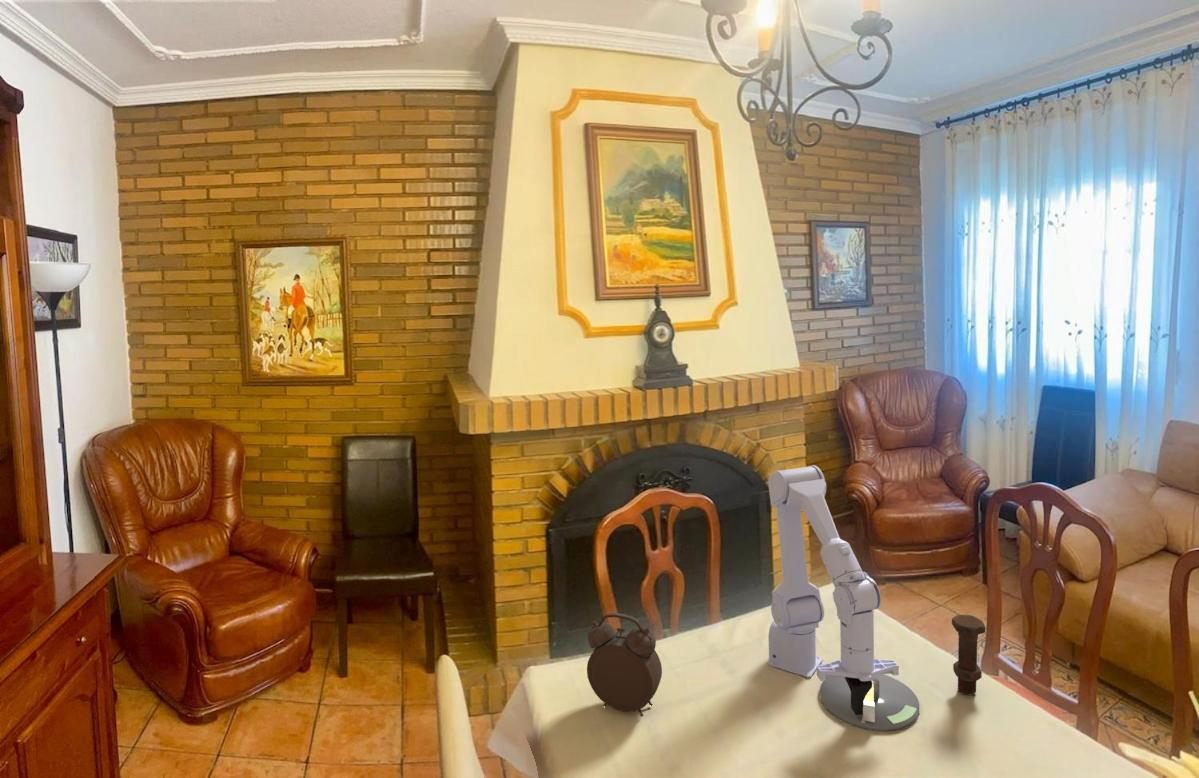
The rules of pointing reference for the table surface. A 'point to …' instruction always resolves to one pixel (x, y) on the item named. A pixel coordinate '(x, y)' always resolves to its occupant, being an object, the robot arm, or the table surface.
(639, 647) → the alarm clock
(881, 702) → the dial plate
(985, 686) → the table surface
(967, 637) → the bolt
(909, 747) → the table surface
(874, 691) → the peg lever
